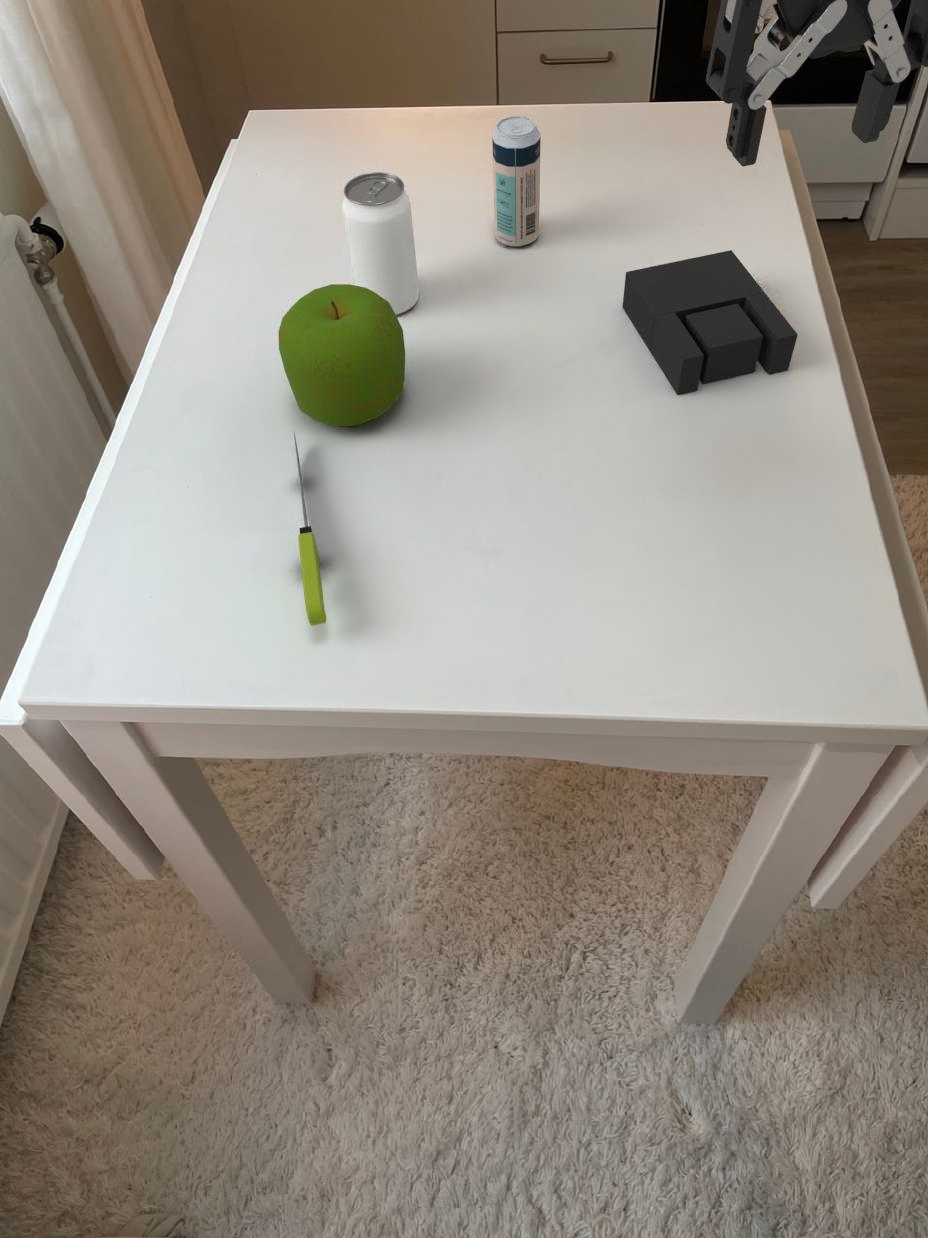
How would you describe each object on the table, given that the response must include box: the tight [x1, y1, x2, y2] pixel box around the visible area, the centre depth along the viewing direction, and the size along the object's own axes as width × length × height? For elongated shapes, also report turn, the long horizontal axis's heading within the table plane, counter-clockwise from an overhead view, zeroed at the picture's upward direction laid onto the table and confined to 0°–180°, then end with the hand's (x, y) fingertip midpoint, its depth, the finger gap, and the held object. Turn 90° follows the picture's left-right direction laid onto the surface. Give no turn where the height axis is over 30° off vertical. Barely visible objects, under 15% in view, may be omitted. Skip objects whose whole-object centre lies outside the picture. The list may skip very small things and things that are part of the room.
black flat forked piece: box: [622, 249, 798, 396], centre depth 90 cm, size 14×11×4 cm
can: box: [341, 171, 420, 316], centre depth 93 cm, size 6×6×12 cm
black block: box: [684, 304, 763, 385], centre depth 88 cm, size 5×5×4 cm
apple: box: [278, 283, 406, 427], centre depth 85 cm, size 11×11×11 cm
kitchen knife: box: [293, 432, 327, 626], centre depth 78 cm, size 22×1×3 cm, turn 11°
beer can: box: [491, 115, 541, 248], centre depth 99 cm, size 5×5×12 cm
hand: (803, 148), depth 62 cm, fingers open, 8 cm apart
